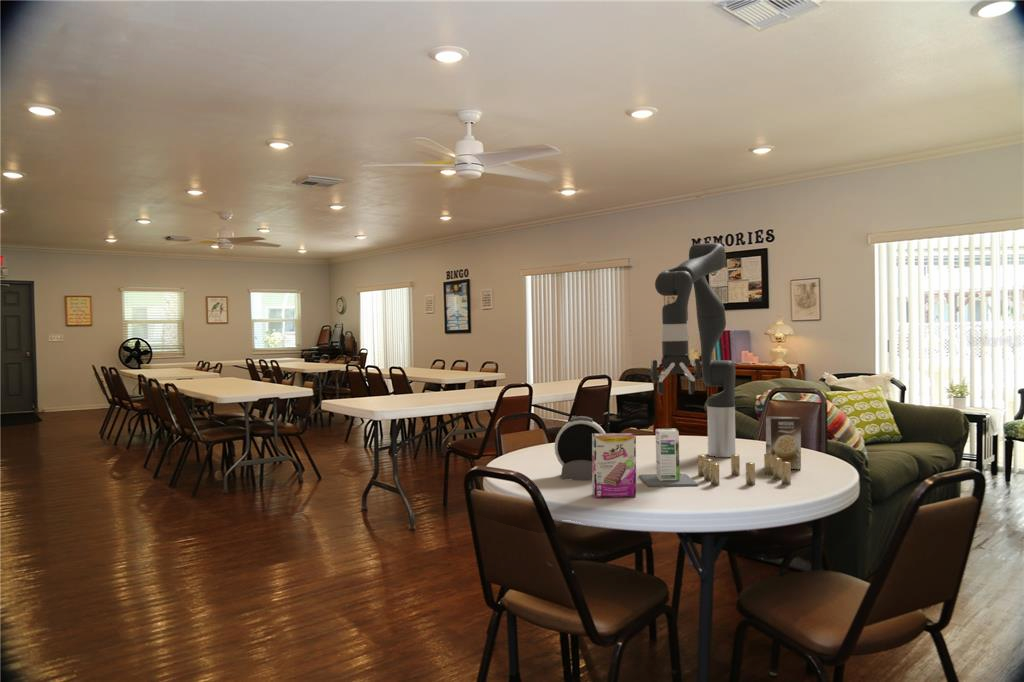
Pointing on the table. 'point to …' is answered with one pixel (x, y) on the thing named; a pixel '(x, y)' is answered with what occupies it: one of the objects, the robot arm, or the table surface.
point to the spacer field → (770, 467)
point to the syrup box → (667, 454)
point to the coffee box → (784, 439)
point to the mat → (654, 481)
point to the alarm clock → (576, 447)
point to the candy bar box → (614, 465)
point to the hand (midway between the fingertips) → (676, 394)
